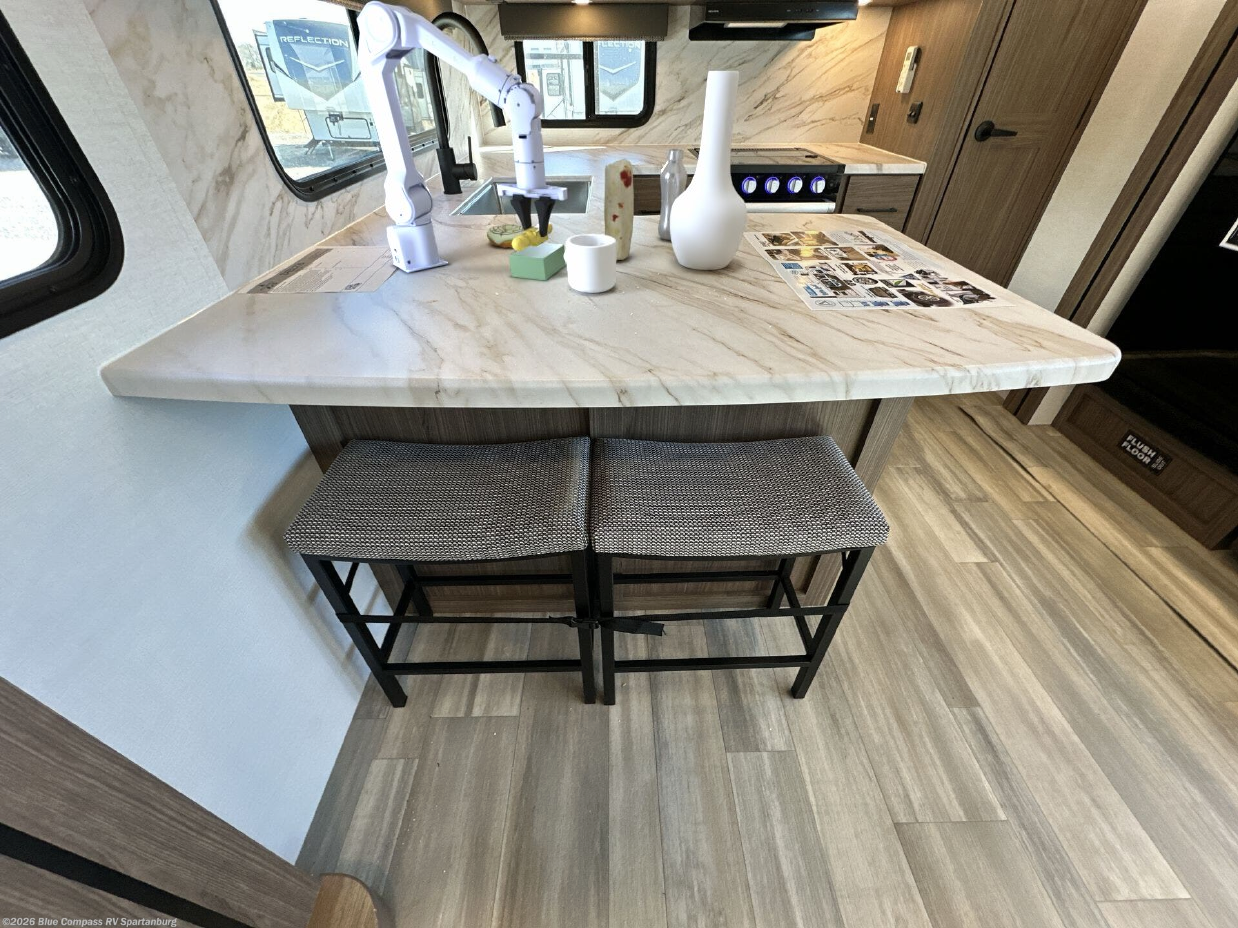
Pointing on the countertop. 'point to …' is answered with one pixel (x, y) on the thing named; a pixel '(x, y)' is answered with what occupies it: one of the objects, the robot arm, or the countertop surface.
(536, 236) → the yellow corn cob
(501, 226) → the decorated donut
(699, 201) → the vase
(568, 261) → the mug
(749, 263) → the countertop surface
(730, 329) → the countertop surface
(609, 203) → the food model
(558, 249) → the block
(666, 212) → the plastic bottle
